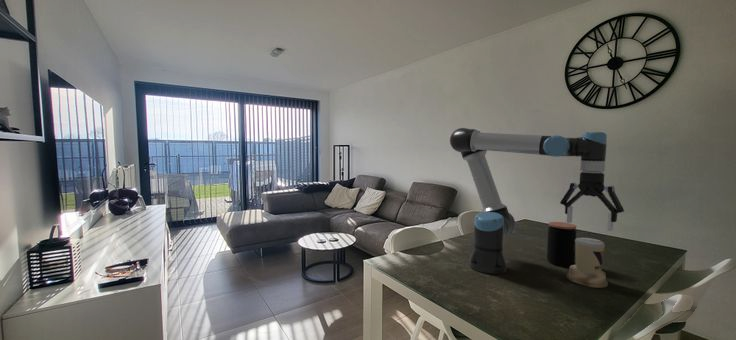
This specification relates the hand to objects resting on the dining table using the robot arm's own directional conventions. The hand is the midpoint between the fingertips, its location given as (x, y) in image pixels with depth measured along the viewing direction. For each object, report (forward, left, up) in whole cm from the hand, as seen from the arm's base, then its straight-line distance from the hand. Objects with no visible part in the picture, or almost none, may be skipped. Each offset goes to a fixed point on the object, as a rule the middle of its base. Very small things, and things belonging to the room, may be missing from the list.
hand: (588, 226), depth 114 cm
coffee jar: (-7, +17, -22) cm, 29 cm away
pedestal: (0, 0, -22) cm, 22 cm away
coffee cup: (+1, 0, -18) cm, 18 cm away
